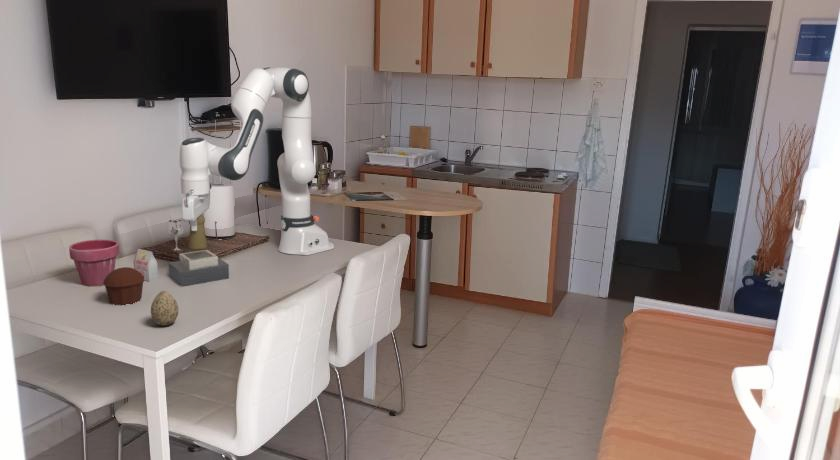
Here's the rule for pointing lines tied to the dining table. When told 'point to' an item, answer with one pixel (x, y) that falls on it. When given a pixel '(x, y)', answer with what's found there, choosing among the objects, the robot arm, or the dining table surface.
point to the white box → (146, 265)
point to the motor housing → (198, 268)
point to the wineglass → (175, 229)
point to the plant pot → (94, 260)
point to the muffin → (124, 286)
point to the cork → (198, 235)
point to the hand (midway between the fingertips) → (197, 228)
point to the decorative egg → (164, 309)
